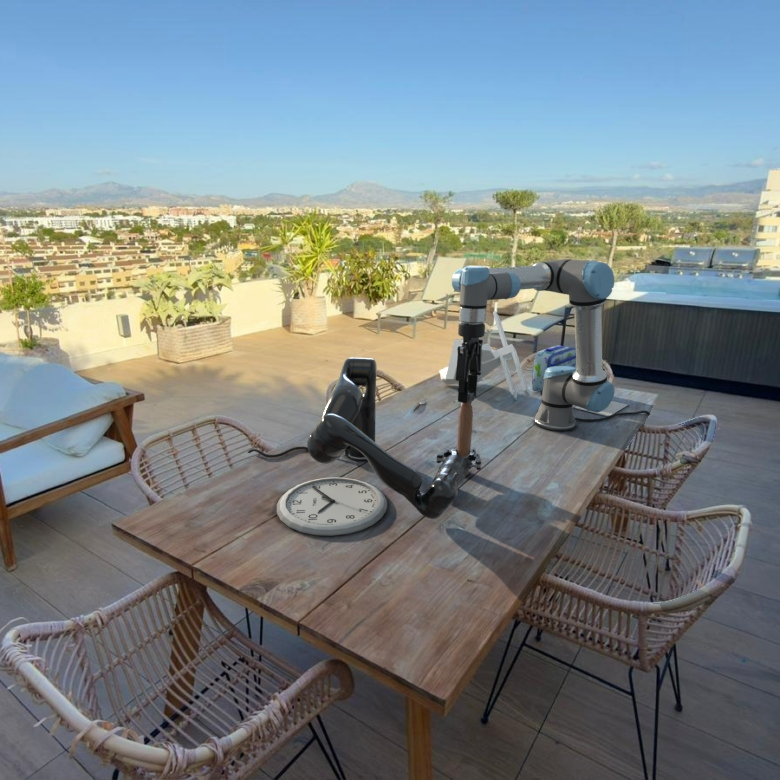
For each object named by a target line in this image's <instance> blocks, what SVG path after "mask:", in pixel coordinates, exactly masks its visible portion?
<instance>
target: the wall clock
mask: <svg viewBox="0 0 780 780" xmlns="http://www.w3.org/2000/svg"><path fill="white" fill-rule="evenodd" d="M387 509H388V500H387V498H386V496H385V494H384V493H383V492H382V491H381V490H380V489H379V488H377V487H376V486H374V485H372V484H371V483H369V482H365V481H362V480H359V479H355V478H349V477H338V476H337V477H335V476H333V477H332V476H331V477H322V478H317V479H312V480H307V481H305V482H302V483H299V484H297V485H295V486H293V487H292V488H290V489H288V490H287V491H286V492H285V493H284V494H283V495H281V496H280V498H279V499H278V502H277V503H276V515H277V517H278V518H279V520H280V521H281V522H282V523H283V524H285V525H286V526H287V527H288V528H290V529H293V530H295V531H297V532H299V533H303V534H308V535H312V536H327V537H328V536H329V537H331V536H332V537H333V536H342V535H350V534H352V533H356V532H361V531H363V530H366V529H368V528H369V527H372V526H373V525H375V524H376V523H378V522H379V521H380V520H381V519H382V518H383V517H384V516H385V514H386V512H387Z"/></svg>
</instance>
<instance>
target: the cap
mask: <svg viewBox="0 0 780 780" xmlns="http://www.w3.org/2000/svg"><path fill="white" fill-rule="evenodd" d="M471 401H472V402H474V401H475V397H474V391H471V390H468V399H467V402H471Z"/></svg>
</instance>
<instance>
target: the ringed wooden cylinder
mask: <svg viewBox="0 0 780 780" xmlns="http://www.w3.org/2000/svg"><path fill="white" fill-rule="evenodd" d="M460 403H461V404H460V408H459V413H458V428H457V443H456V447H457V455H459V456H464V455H465V454H469V453H470V451H471V449H472V436H473V434H472V433H473V420H474V412H473V411H474V409H473V401H471V402H467V403H462V402H460ZM469 474H470V469H469V470H468V473H467V475H466V476H468V475H469Z"/></svg>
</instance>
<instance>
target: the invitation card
mask: <svg viewBox="0 0 780 780" xmlns="http://www.w3.org/2000/svg"><path fill="white" fill-rule="evenodd" d="M628 406H629V404H627V403H623V402H618V401H614V400H612V401H611V402H610V404H609V405H608V407H607V408H606V409H604V410H603V411H601V412H593V411H588V410H586V409H584V408H581V407H578V406H574V407H573V409H575V410H581V411H584V412H587V413H593V414H596V415H600V416H604V417H607V416H610V415H613V414H617V413H619V411H621V410H623V409H624V408H626V407H628Z"/></svg>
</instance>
